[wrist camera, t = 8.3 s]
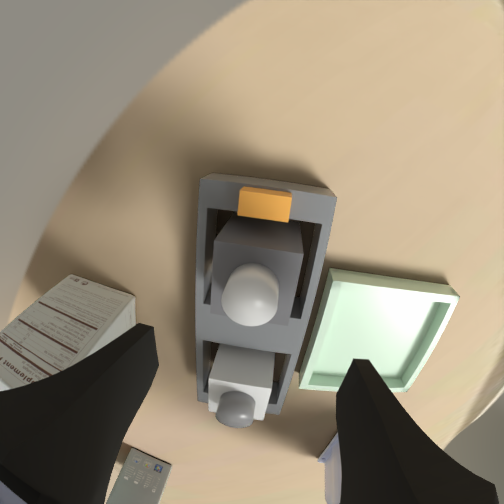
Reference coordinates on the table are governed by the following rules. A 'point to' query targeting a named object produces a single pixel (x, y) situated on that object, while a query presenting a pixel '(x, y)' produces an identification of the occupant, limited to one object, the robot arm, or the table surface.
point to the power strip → (212, 325)
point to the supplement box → (62, 330)
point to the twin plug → (240, 384)
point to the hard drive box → (140, 480)
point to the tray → (375, 328)
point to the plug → (256, 270)
